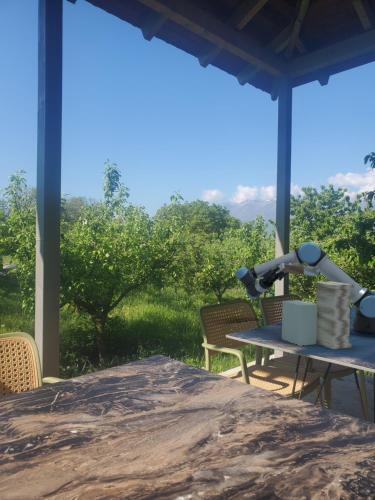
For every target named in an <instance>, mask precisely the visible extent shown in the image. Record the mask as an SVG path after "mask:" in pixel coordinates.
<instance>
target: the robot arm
mask: <svg viewBox="0 0 375 500" xmlns="http://www.w3.org/2000/svg"><path fill="white" fill-rule="evenodd" d="M276 264H280V265H279V266H278V267H277V268H276ZM284 264H289V265H302V264H306V265H307V266H310V267H319V274H321V275H323V276H324V277H325V278H326V279H327V280H328V281H329V282H340V283H347V284H354V289H351V294H350V304H351V305H352V306H354V307H355V318H354V321H353V324H352V325H351V329H352V331H356V332H357V333H364V334H375V290H370V289H369V288H367V287H362V286H361V285H360V284H358V282H356V281H355V280H354V279H353V278H352V277H350V276H349V275H348V274H347V273H346V272H344V270H342V269H341V268H340V267H339V266H337V264H335V263H334V262H333V261H332V260H331V259H330V258H329V256H328V253H327V252H325V251H324V250H323V249H322V248H321V247H320V246H319V245H317V243H315V242H312V241H307V242H304V243H302V244H301V245H300V246H298V247H297V248H295V249H293V250H292V251H291V252H289V253H286V254H284V255H280V256H278V257H276V258H274V259H270V260H268V261H265V262H262V263H261V264H258V265H255V266H253V267H250V268H247V267H246V266H241V267H240V268H239V269H237V270H236V271H235V272H234V274H235V277H236V278H237V279H238V280H239V281H240V283H241V284H242V286H244V287H245V289H246V292H245V293H246V296H247V297H248V298H249V299H250V300H251V299H252V300H253V299H256V298H259V296H261V295H263V294H264V293H265V292H266V291H268V290H269V289H270V288H271V287H273V285H274V283H275V282H276V281H279V282H281V281H282V279H284V278H285V277H287V276H288V275H289V274H290V273H285V272H280V271H281V270H283V269H284V268H285V266H284Z"/></svg>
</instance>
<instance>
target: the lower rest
mask: <svg viewBox="0 0 375 500" xmlns="http://www.w3.org/2000/svg"><path fill="white" fill-rule="evenodd" d="M316 333H317V304H316V303H312V302H309V301H304V300H297V299H296V300H295V299H294V300H282V312H281V340H282V341H286V342H288V343H290V344H293V343H294V344H293V345H296V344H297V345H296V346H299V347H301V346H302V347H303V345H304V346H312V345H317V344H316Z"/></svg>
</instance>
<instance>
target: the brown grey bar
mask: <svg viewBox="0 0 375 500" xmlns="http://www.w3.org/2000/svg"><path fill="white" fill-rule="evenodd" d="M279 265H280V264H276V268H277V267H278V266H279ZM284 266H285V268H284V269H283V270H281V271H280V272H285V273H289V274H295V275H300V276H302V275H303V276H310V277H319V276H320V272H319V267H310V266H308V265H307V266H306V265H300V264H295V265H289V264H284Z"/></svg>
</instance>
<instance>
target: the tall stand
mask: <svg viewBox="0 0 375 500" xmlns="http://www.w3.org/2000/svg"><path fill="white" fill-rule="evenodd" d="M313 287H316V294H315V296H316V298H315V299H316V300H315V302H316V303H315V304H317V333H316V344H315V345H320V346H323V347H325V348H328V349H331V350H338V349H347V348H353V343H350V324H351V323H350V322H351V320H350V319H351V315H350V304H351V299H350V294H351V289H354V284H347V283H340V282H331V281H313Z"/></svg>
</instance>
